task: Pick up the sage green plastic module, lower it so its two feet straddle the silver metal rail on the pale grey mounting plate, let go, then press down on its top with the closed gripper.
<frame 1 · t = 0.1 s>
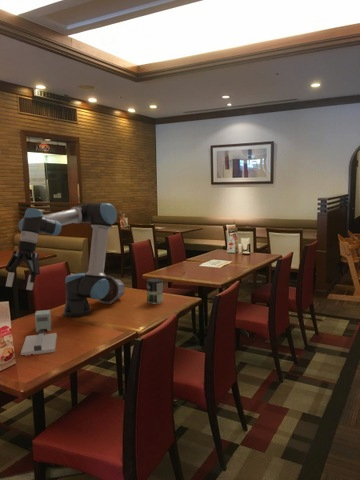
hand: (18, 288, 174), 28 cm above the table, tool tilted 20°, fingers open, 13 cm apart
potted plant: (105, 303, 245), on the table
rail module: (43, 329, 201), on the table
mounting plate: (40, 345, 180), on the table
coffee can: (155, 301, 247), on the table
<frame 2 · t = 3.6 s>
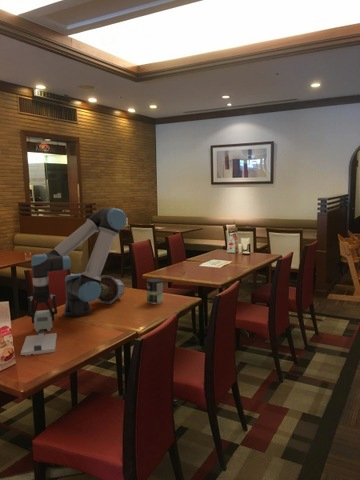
hand: (43, 328, 201), 1 cm above the table, tool pointing down, fingers closed on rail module, 7 cm apart
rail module: (43, 329, 201), on the table, touching gripper
everything else where it was.
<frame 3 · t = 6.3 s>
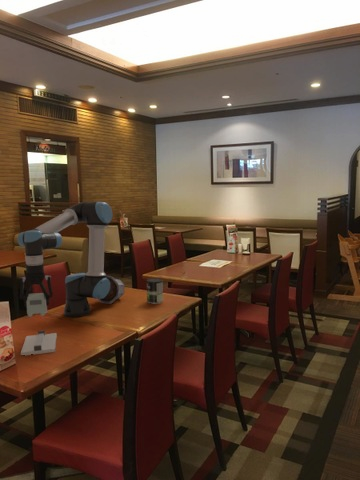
hand: (37, 312, 181), 15 cm above the table, tool pointing down, fingers closed on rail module, 7 cm apart
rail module: (37, 313, 181), point 14 cm above the table, touching gripper
everything else where it was.
when the fingers open (4 cm above the table, at t = 9.4 s): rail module drops 1 cm, resting on mounting plate.
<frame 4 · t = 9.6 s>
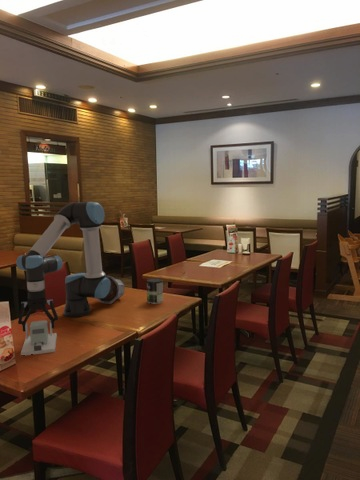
hand: (39, 336, 179), 4 cm above the table, tool pointing down, fingers open, 10 cm apart
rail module: (39, 342, 180), point 1 cm above the table, touching mounting plate
everything else where it was.
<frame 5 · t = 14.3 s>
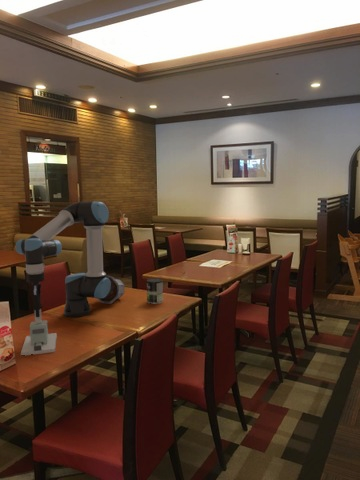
hand: (38, 322, 179), 11 cm above the table, tool pointing down, fingers closed
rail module: (39, 342, 180), point 1 cm above the table, touching gripper, mounting plate
everything else where it was.
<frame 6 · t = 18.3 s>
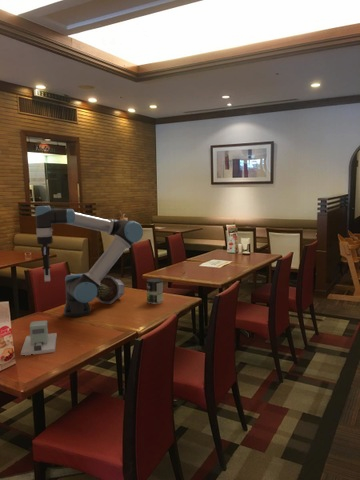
hand: (47, 280, 203), 24 cm above the table, tool pointing down, fingers closed
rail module: (39, 342, 180), point 1 cm above the table, touching mounting plate
everything else where it was.
at the end: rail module 0.0 cm off-centre on the mounting plate, point 1.5 cm above the mounting plate's base; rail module tilted 0°; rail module touching mounting plate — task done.
